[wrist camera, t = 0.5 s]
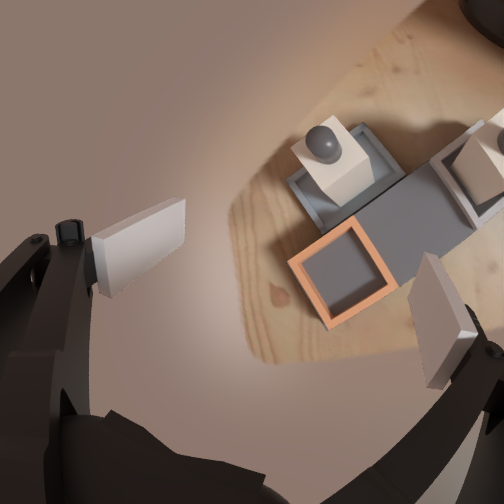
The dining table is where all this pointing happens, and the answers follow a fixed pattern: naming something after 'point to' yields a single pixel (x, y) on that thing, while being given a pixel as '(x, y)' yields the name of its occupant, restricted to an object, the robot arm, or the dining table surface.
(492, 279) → the dining table surface
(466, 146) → the twin plug
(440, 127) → the dining table surface
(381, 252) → the grey base
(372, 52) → the dining table surface
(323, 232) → the tray
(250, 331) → the dining table surface
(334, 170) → the bottle
